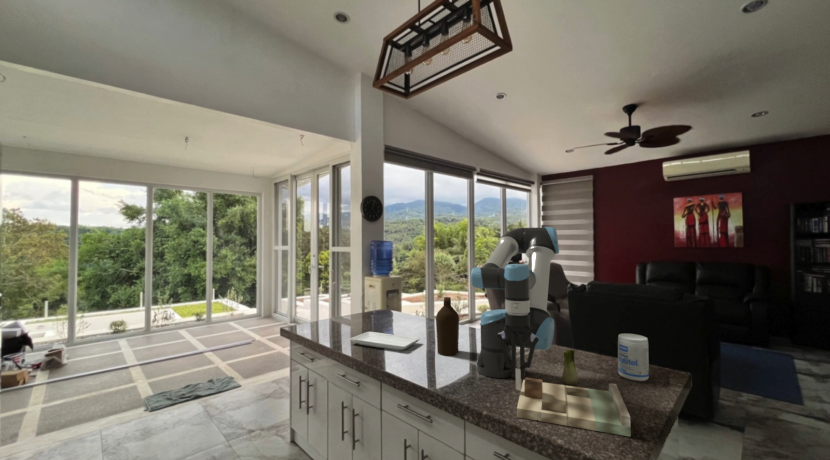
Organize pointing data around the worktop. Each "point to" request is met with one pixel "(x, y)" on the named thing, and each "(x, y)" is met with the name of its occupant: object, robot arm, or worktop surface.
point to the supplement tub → (633, 357)
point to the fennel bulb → (569, 369)
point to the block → (533, 388)
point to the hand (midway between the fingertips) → (518, 388)
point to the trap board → (578, 408)
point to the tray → (385, 340)
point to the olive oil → (447, 329)
